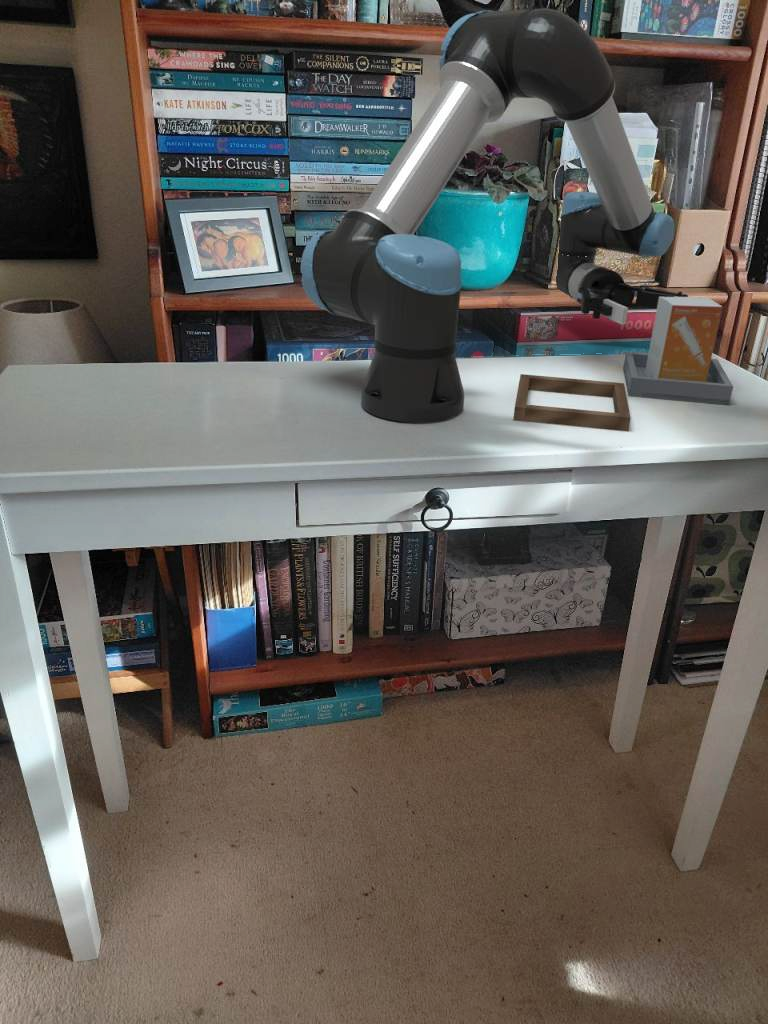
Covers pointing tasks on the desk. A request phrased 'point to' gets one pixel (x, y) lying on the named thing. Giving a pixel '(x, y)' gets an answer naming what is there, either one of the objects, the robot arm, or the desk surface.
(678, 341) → the small box
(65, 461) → the desk surface
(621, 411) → the walnut frame
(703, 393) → the slate tray
